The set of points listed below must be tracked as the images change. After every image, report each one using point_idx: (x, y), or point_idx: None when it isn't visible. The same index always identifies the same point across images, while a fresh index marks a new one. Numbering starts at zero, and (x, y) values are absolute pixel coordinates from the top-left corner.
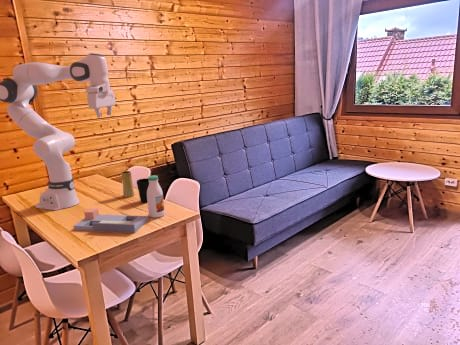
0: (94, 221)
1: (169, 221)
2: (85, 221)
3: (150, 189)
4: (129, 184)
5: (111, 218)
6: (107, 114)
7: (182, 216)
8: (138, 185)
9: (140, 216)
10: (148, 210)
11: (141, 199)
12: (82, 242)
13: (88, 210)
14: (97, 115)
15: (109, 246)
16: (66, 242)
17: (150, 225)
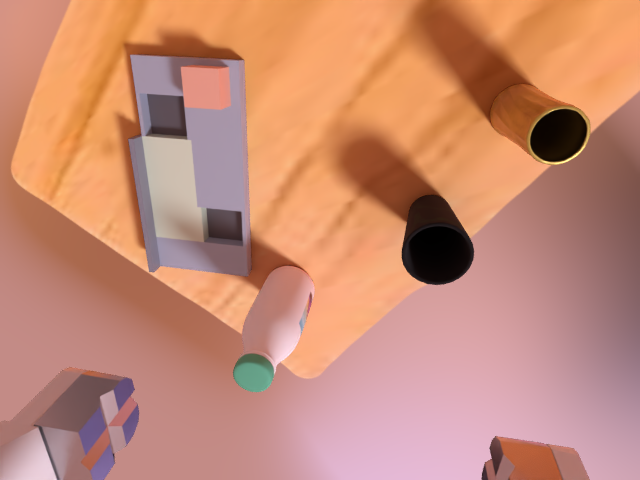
0: (186, 112)
1: None
2: (171, 80)
3: (243, 338)
4: (514, 141)
5: (212, 167)
6: (495, 454)
7: None
8: (409, 230)
9: (241, 256)
10: (271, 277)
11: (411, 209)
12: (76, 137)
13: (197, 77)
14: (44, 402)
15: (81, 222)
16: (60, 84)
17: (216, 285)
